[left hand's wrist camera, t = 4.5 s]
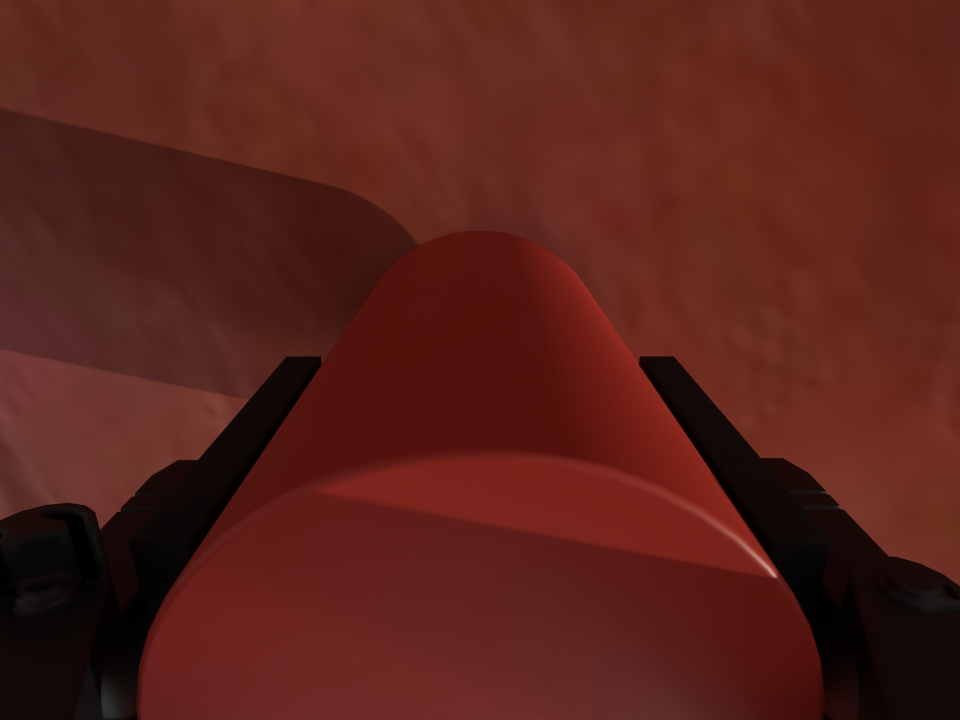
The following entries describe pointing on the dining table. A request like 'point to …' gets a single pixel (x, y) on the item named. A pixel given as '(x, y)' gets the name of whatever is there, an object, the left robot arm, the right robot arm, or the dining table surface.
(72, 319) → the dining table surface
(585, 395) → the canister
